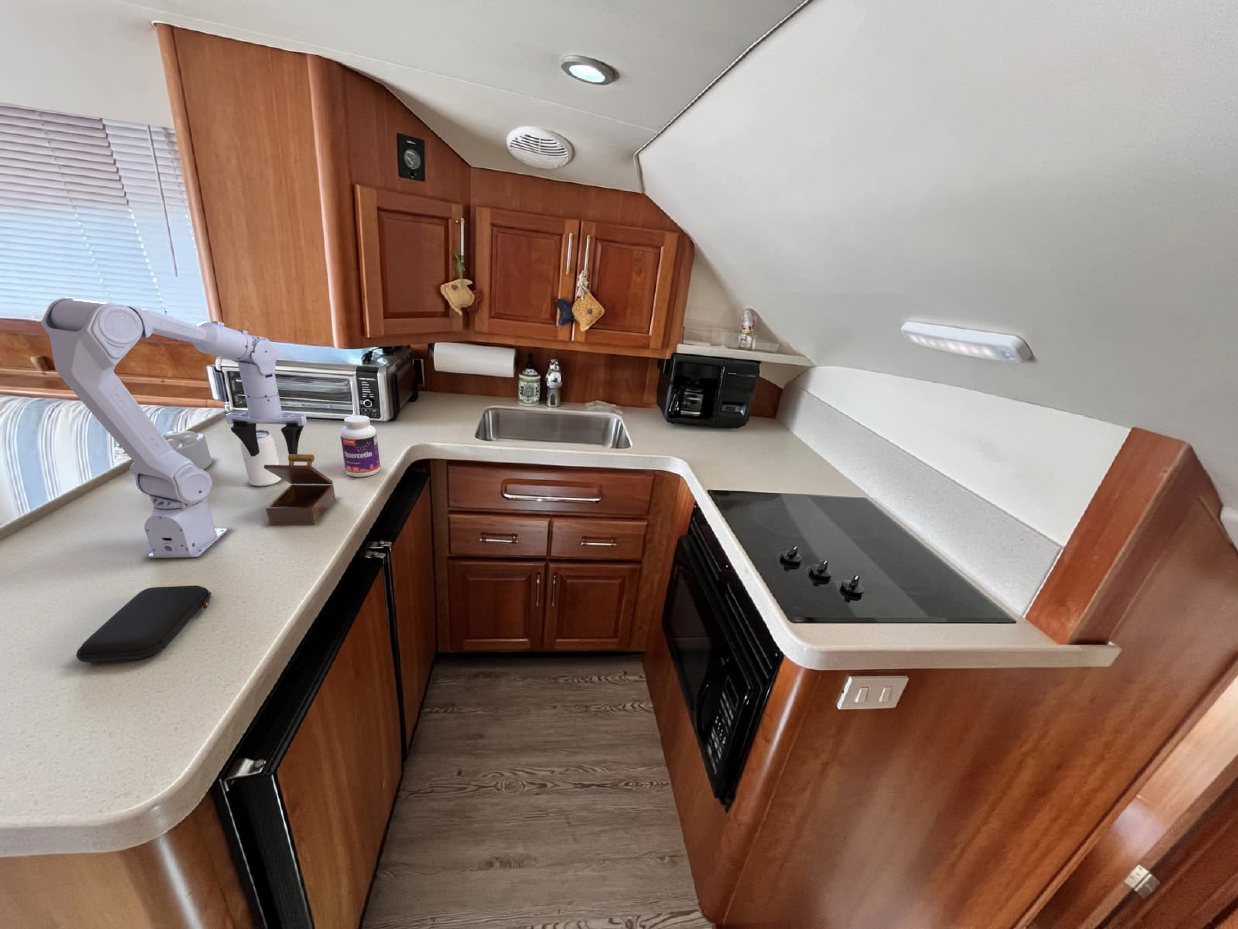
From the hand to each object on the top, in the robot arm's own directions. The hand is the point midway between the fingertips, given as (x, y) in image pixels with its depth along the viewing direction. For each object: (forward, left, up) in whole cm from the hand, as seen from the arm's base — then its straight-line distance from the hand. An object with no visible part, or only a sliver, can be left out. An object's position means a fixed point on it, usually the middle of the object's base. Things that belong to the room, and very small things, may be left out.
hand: (274, 455), depth 107 cm
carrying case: (-43, -2, -10) cm, 44 cm away
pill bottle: (+14, -13, -10) cm, 22 cm away
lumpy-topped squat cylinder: (+14, +29, -10) cm, 35 cm away
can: (+8, +7, -10) cm, 15 cm away
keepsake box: (-7, -7, -10) cm, 14 cm away
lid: (-6, -7, -3) cm, 9 cm away
